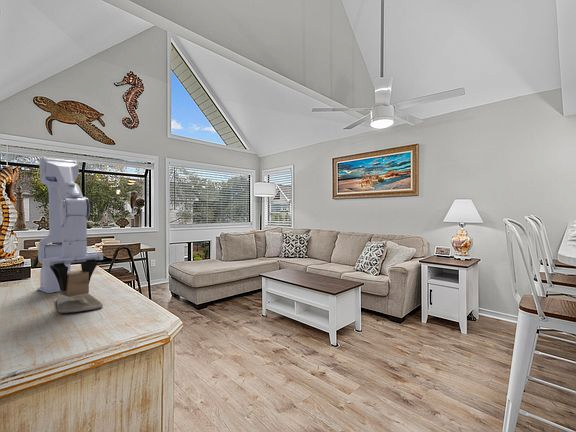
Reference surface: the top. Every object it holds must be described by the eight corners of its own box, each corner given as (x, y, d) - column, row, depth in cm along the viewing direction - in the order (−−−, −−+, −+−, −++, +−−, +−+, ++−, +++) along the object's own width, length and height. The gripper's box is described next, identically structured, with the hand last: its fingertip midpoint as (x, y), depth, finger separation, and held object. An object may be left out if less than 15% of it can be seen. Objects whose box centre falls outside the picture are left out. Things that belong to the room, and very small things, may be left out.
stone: (104, 306, 83) (59, 309, 76) (103, 316, 83) (58, 321, 76) (91, 288, 96) (51, 290, 90) (89, 297, 96) (50, 300, 90)
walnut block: (60, 294, 85) (60, 272, 85) (80, 290, 89) (80, 270, 89) (68, 297, 82) (68, 275, 82) (88, 292, 86) (88, 272, 86)
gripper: (50, 243, 77) (50, 296, 77) (108, 239, 90) (108, 285, 90) (38, 241, 81) (38, 292, 81) (96, 238, 93) (96, 281, 93)
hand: (74, 288), depth 86 cm, fingers closed on walnut block, 5 cm apart
